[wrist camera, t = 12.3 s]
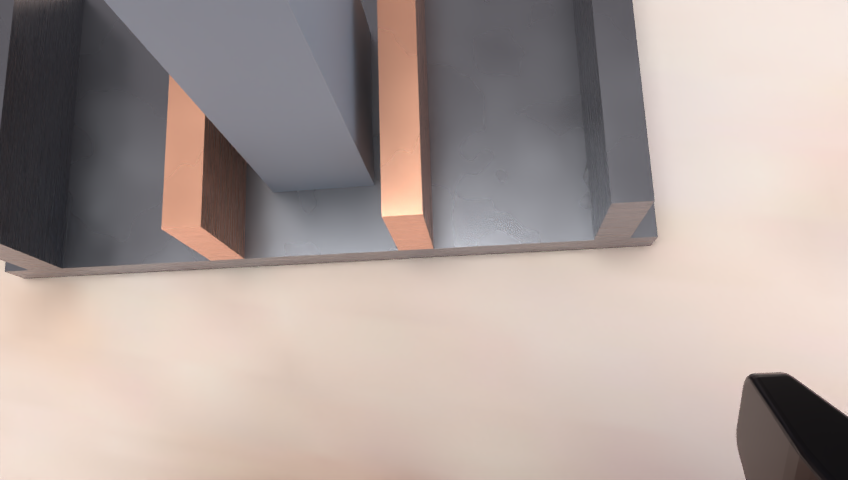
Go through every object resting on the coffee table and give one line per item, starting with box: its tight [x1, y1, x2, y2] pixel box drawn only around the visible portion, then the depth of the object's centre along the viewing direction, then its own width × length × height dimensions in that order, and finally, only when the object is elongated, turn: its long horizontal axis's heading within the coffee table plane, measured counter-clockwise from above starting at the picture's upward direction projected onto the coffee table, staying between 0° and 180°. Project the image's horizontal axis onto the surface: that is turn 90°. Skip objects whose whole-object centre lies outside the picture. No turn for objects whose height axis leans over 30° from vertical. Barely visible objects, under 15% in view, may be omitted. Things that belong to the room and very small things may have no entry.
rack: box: [0, 0, 658, 278], centre depth 23 cm, size 9×19×4 cm, turn 92°
